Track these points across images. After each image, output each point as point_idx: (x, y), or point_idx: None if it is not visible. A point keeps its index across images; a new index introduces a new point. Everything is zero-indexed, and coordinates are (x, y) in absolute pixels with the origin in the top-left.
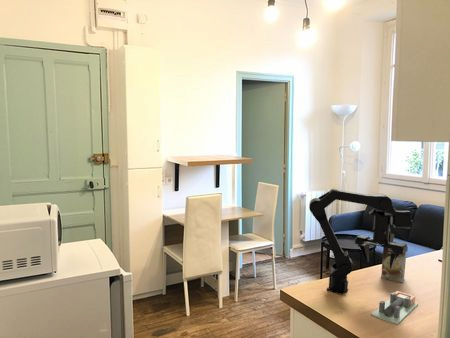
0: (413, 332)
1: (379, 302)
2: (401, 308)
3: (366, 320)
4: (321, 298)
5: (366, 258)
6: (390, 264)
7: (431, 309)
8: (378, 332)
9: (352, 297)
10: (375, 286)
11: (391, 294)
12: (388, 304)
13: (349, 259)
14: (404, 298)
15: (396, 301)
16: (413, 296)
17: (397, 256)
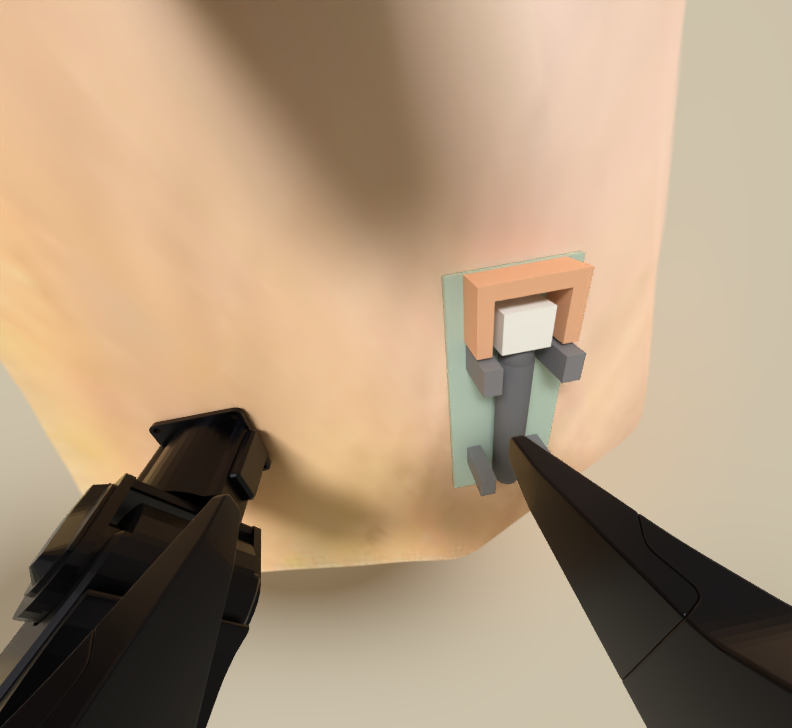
0: (588, 463)
1: (481, 495)
2: None
3: (458, 509)
4: (265, 526)
5: (222, 585)
6: (543, 517)
7: (648, 241)
8: (509, 522)
9: (318, 443)
10: (263, 206)
11: (488, 396)
12: (468, 388)
13: (214, 699)
14: (543, 347)
15: (519, 408)
16: (585, 279)
17: (748, 596)
